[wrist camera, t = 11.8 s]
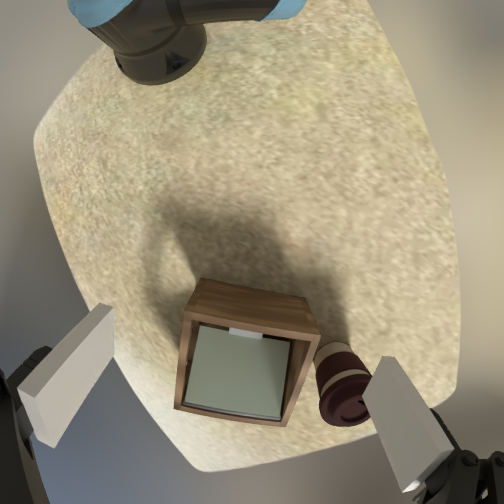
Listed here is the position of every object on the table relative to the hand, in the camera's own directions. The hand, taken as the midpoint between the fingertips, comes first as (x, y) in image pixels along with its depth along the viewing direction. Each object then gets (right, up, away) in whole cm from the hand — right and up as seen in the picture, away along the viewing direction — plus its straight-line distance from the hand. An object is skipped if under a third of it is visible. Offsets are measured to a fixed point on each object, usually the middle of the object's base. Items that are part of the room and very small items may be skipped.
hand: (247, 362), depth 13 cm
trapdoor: (-2, -13, +29) cm, 32 cm away
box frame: (-1, -9, +36) cm, 37 cm away
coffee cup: (+15, -14, +37) cm, 43 cm away
